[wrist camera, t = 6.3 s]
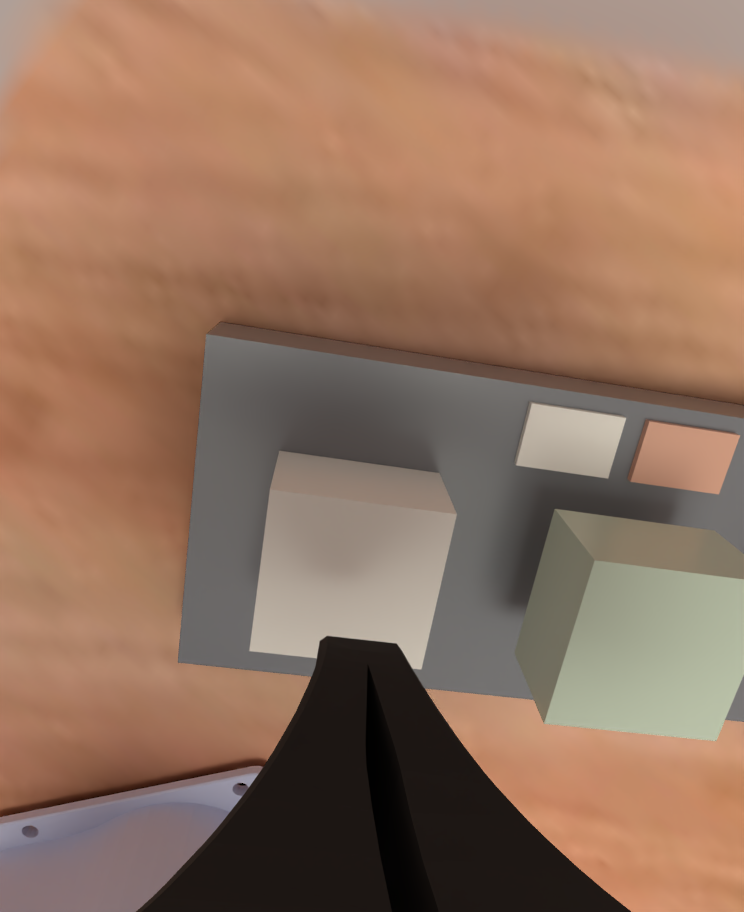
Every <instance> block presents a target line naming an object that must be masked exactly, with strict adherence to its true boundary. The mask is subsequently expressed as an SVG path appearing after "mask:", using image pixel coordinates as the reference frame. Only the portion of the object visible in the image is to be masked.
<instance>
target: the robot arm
mask: <svg viewBox="0 0 744 912" xmlns="http://www.w3.org/2000/svg"><path fill="white" fill-rule="evenodd" d="M237 783H244V784H246V785H245V786H240V785H238V784H237ZM32 826H34V827H32ZM0 912H631V911H630V910H628V909H627V908H626V907H625V906H623V905H622V904H621V903H620V902H618V901H617V900H616V899H615V898H613V897H612V896H611V895H610V894H608V893H607V892H606V891H605V890H603V889H602V888H601V887H600V886H599V885H597V884H596V883H595V882H594V881H593V880H592V879H590V878H589V877H588V876H587V875H586V874H585V873H583V872H582V871H581V870H580V869H579V868H578V867H576V866H575V865H574V864H573V863H572V862H571V861H570V860H569V859H568V858H567V857H566V856H565V855H563V854H562V853H561V852H560V851H559V850H558V849H557V848H556V847H555V846H554V845H553V844H552V843H550V842H549V841H548V840H547V839H546V838H545V837H544V836H543V835H542V834H541V833H540V832H539V831H538V830H537V829H536V828H535V827H534V826H533V825H532V824H531V823H530V822H529V821H528V820H527V819H526V818H525V817H524V816H523V815H522V814H521V813H520V812H519V811H518V810H517V808H516V807H515V806H514V805H513V804H512V803H511V802H510V801H509V800H508V799H507V798H506V797H505V796H504V794H503V793H502V792H501V791H500V790H499V789H498V788H497V787H496V786H495V785H494V783H493V782H492V781H491V780H490V779H489V778H488V776H487V775H486V774H485V773H484V772H483V770H482V769H481V768H480V766H479V765H478V764H477V763H476V761H475V760H474V759H473V757H472V756H471V755H470V754H469V752H468V751H467V750H466V748H465V747H464V746H463V744H462V743H461V742H460V740H459V739H458V738H457V736H456V735H455V733H454V732H453V730H452V729H451V728H450V726H449V725H448V723H447V722H446V720H445V719H444V717H443V716H442V714H441V713H440V712H439V710H438V709H437V707H436V706H435V704H434V703H433V701H432V700H431V698H430V696H429V695H428V693H427V692H426V690H425V688H424V687H423V685H422V684H421V682H420V680H419V679H418V677H417V675H416V674H415V672H414V670H413V669H412V667H411V665H410V664H409V662H408V660H407V659H406V657H405V655H404V653H403V652H402V650H401V649H400V647H399V646H398V645H397V643H388V642H379V641H370V640H361V639H352V638H343V637H334V636H326V637H325V638H323V639H322V640H320V642H319V648H318V654H317V660H316V666H315V669H314V672H313V674H312V677H311V680H310V682H309V685H308V687H307V689H306V691H305V693H304V696H303V698H302V700H301V702H300V704H299V706H298V709H297V711H296V713H295V715H294V716H293V718H292V720H291V722H290V724H289V725H288V727H287V729H286V731H285V732H284V734H283V736H282V738H281V739H280V741H279V743H278V745H277V746H276V748H275V750H274V751H273V753H272V754H271V756H270V757H269V759H268V761H267V762H266V764H265V765H264V767H262V766H251V767H246V768H241V769H236V770H231V771H226V772H221V773H216V774H211V775H206V776H201V777H196V778H191V779H186V780H181V781H176V782H171V783H166V784H161V785H156V786H151V787H147V788H142V789H137V790H132V791H127V792H122V793H117V794H112V795H107V796H102V797H97V798H92V799H87V800H82V801H77V802H72V803H67V804H62V805H57V806H52V807H48V808H43V809H38V810H33V811H28V812H23V813H18V814H13V815H8V816H3V817H0Z"/></svg>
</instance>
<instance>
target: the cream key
mask: <svg viewBox="0 0 744 912" xmlns="http://www.w3.org/2000/svg"><path fill="white" fill-rule="evenodd" d="M456 516H457V514H456V511H455V509H454V506H453V504H452V502H451V499H450V497H449V495H448V492H447V490H446V488H445V485H444V483H443V481H442V478H441V476H440V473H436V472H428V471H421V470H414V469H407V468H400V467H393V466H386V465H379V464H371V463H364V462H357V461H350V460H343V459H336V458H329V457H321V456H314V455H307V454H300V453H293V452H286V451H279V454H278V458H277V462H276V466H275V470H274V475H273V479H272V483H271V487H270V492H269V500H268V508H267V516H266V524H265V532H264V540H263V547H262V555H261V563H260V571H259V579H258V587H257V595H256V602H255V610H254V618H253V626H252V634H251V642H250V650H249V651H253V652H263V653H272V654H281V655H290V656H300V657H309V658H317V654H318V648H319V642H320V640H322V639H323V638H325V637H326V636H334V637H343V638H352V639H361V640H370V641H379V642H388V643H397V645H398V646H399V647H400V649H401V650H402V652H403V653H404V655H405V657H406V659H407V660H408V662H409V664H410V665H411V667H412V669H422V665H423V660H424V656H425V652H426V647H427V643H428V639H429V634H430V630H431V625H432V621H433V617H434V612H435V608H436V604H437V599H438V595H439V590H440V586H441V582H442V577H443V573H444V569H445V564H446V560H447V555H448V551H449V547H450V542H451V538H452V534H453V529H454V525H455V520H456Z"/></svg>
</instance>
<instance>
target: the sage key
mask: <svg viewBox="0 0 744 912" xmlns="http://www.w3.org/2000/svg"><path fill="white" fill-rule="evenodd" d="M514 653H515V656H516V658H517V661H518V663H519V665H520V668H521V670H522V672H523V675H524V677H525V680H526V682H527V684H528V687H529V689H530V691H531V694H532V696H533V699H534V701H535V703H536V706H537V708H538V710H539V713H540V715H541V718H542V720H543V722H544V724H552V725H562V726H572V727H582V728H591V729H601V730H611V731H621V732H631V733H641V734H651V735H661V736H671V737H681V738H691V739H701V740H710V741H716V740H717V738H718V735H719V733H720V731H721V728H722V726H723V723H724V721H725V719H726V716H727V714H728V711H729V709H730V707H731V704H732V702H733V699H734V697H735V695H736V692H737V690H738V687H739V685H740V683H741V680H742V678H743V675H744V554H743V553H742V552H741V551H739V550H738V549H737V548H736V547H734V546H733V545H732V544H731V543H729V542H728V541H727V540H726V539H724V538H723V537H722V536H721V535H719V534H718V533H717V532H716V531H714V530H706V529H699V528H692V527H684V526H677V525H670V524H662V523H655V522H648V521H641V520H633V519H626V518H619V517H611V516H604V515H597V514H589V513H582V512H575V511H567V510H560V509H554V513H553V516H552V520H551V524H550V527H549V531H548V534H547V538H546V541H545V545H544V549H543V552H542V556H541V559H540V563H539V566H538V570H537V574H536V577H535V581H534V584H533V588H532V591H531V595H530V599H529V602H528V606H527V609H526V613H525V616H524V620H523V624H522V627H521V631H520V634H519V638H518V642H517V645H516V649H515V652H514Z"/></svg>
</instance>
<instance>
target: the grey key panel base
mask: <svg viewBox="0 0 744 912" xmlns="http://www.w3.org/2000/svg"><path fill="white" fill-rule="evenodd" d="M279 451H286V452H293V453H300V454H307V455H314V456H321V457H329V458H336V459H343V460H350V461H357V462H364V463H371V464H379V465H386V466H393V467H400V468H407V469H414V470H421V471H428V472H436V473H440V476H441V478H442V481H443V483H444V485H445V488H446V490H447V492H448V495H449V497H450V499H451V502H452V504H453V506H454V509H455V511H456V514H457V516H456V520H455V525H454V529H453V534H452V538H451V542H450V547H449V551H448V555H447V560H446V564H445V569H444V573H443V577H442V582H441V586H440V590H439V595H438V599H437V604H436V608H435V612H434V617H433V621H432V625H431V630H430V634H429V639H428V643H427V647H426V652H425V656H424V660H423V665H422V669H413V670H414V672H415V674H416V675H417V677H418V679H419V680H420V682H421V684H422V685H423V687H424V688H426V689H436V690H445V691H455V692H464V693H474V694H483V695H493V696H502V697H512V698H522V699H531V700H534V699H533V696H532V694H531V691H530V689H529V687H528V684H527V682H526V680H525V677H524V675H523V672H522V670H521V668H520V665H519V663H518V661H517V658H516V656H515V653H514V652H515V649H516V645H517V642H518V638H519V634H520V631H521V627H522V624H523V620H524V616H525V613H526V609H527V606H528V602H529V599H530V595H531V591H532V588H533V584H534V581H535V577H536V574H537V570H538V566H539V563H540V559H541V556H542V552H543V549H544V545H545V541H546V538H547V534H548V531H549V527H550V524H551V520H552V516H553V513H554V509H560V510H567V511H575V512H582V513H589V514H597V515H604V516H611V517H619V518H626V519H633V520H641V521H648V522H655V523H662V524H670V525H677V526H684V527H692V528H699V529H706V530H714V531H716V532H717V533H718V534H719V535H721V536H722V537H723V538H724V539H726V540H727V541H728V542H729V543H731V544H732V545H733V546H734V547H736V548H737V549H738V550H739V551H741V552H742V553H743V554H744V405H739V404H733V403H727V402H720V401H714V400H708V399H701V398H695V397H689V396H683V395H676V394H670V393H664V392H657V391H651V390H645V389H639V388H632V387H626V386H620V385H614V384H607V383H601V382H595V381H588V380H582V379H576V378H570V377H563V376H557V375H551V374H544V373H538V372H532V371H526V370H519V369H513V368H507V367H500V366H494V365H488V364H482V363H475V362H469V361H463V360H456V359H450V358H444V357H438V356H431V355H425V354H419V353H413V352H406V351H400V350H394V349H387V348H381V347H375V346H369V345H362V344H356V343H350V342H343V341H337V340H331V339H325V338H318V337H312V336H306V335H299V334H293V333H287V332H281V331H274V330H268V329H262V328H256V327H249V326H243V325H237V324H230V323H224V322H220V323H219V324H217V325H216V326H215V327H214V328H213V329H212V330H210V331H209V332H208V333H207V334H206V343H205V354H204V366H203V377H202V389H201V400H200V412H199V423H198V435H197V447H196V458H195V470H194V481H193V493H192V504H191V516H190V527H189V539H188V551H187V562H186V574H185V585H184V597H183V608H182V620H181V631H180V643H179V654H178V663H187V664H197V665H206V666H216V667H225V668H235V669H244V670H254V671H263V672H273V673H283V674H292V675H302V676H311V677H312V674H313V672H314V669H315V666H316V660H317V658H309V657H300V656H290V655H281V654H272V653H263V652H253V651H249V650H250V642H251V634H252V626H253V618H254V610H255V602H256V595H257V587H258V579H259V571H260V563H261V555H262V547H263V540H264V532H265V524H266V516H267V508H268V500H269V492H270V487H271V483H272V479H273V475H274V470H275V466H276V462H277V458H278V454H279ZM725 720H732V721H741V722H744V675H743V678H742V680H741V683H740V685H739V687H738V690H737V692H736V695H735V697H734V699H733V702H732V704H731V707H730V709H729V711H728V714H727V716H726V719H725Z"/></svg>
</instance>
